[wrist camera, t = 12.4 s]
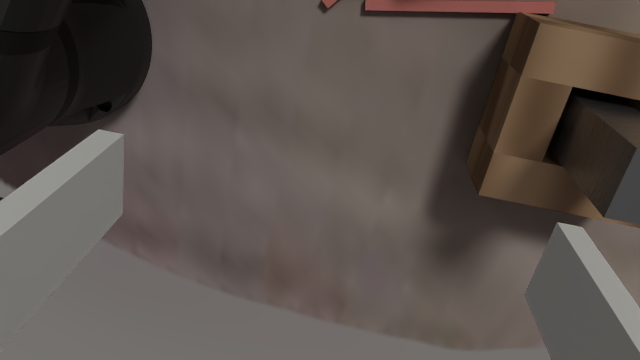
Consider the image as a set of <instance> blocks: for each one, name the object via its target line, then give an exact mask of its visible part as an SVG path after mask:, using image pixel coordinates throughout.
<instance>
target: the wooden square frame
mask: <svg viewBox="0 0 640 360" xmlns="http://www.w3.org/2000/svg"><path fill="white" fill-rule="evenodd" d="M572 87H577V88H582V89H587V90H592V91H597V92H602V93H606V94H611V95H616V96H618V97H619V98H621V99H622V100H624V101H625V102H627V103H628V104H630V105H631V106H633V107H634V108H636V109H637V110H639V111H640V35H636V34H631V33H626V32H621V31H617V30H612V29H607V28H602V27H597V26H592V25H587V24H582V23H577V22H572V21H567V20H562V19H557V18H553V17H548V16H543V15H538V14H533V13H524V12H520V11H519V13H516V16H515V19H514V22H513V25H512V28H511V31H510V34H509V37H508V40H507V43H506V46H505V49H504V52H503V55H502V58H501V61H500V64H499V67H498V70H497V73H496V75H495V78H494V81H493V84H492V87H491V90H490V93H489V96H488V99H487V102H486V105H485V108H484V111H483V114H482V117H481V120H480V123H479V126H478V129H477V132H476V135H475V138H474V141H473V144H472V147H471V150H470V153H469V156H468V158H467V161H466V165H467V168H468V170H469V173H470V175H471V178H472V180H473V183H474V185H475V188H476V190H477V193H478V195H481V196H486V197H491V198H495V199H500V200H505V201H510V202H515V203H520V204H525V205H530V206H535V207H540V208H544V209H549V210H554V211H559V212H564V213H569V214H574V215H579V216H584V217H589V218H593V219H598V220H603V221H608V222H613V223H618V224H623V225H628V226H633V227H638V228H640V225H638V224H633V223H628V222H623V221H618V220H612V219H607V218H604V217H603V216H602V215H601V214H600V213H599V211H598V210H597V209H596V208H595V206H594V205H593V204H592V203H591V201H590V200H589V199H588V198H587V196H586V195H585V194H584V193H583V191H582V190H581V189H580V188H579V187H578V185H577V184H576V183H575V182H574V180H573V179H572V178H571V177H570V175H569V174H568V173H567V172H566V170H565V169H564V168H563V167H562V165H561V164H560V163H559V162H558V161H557V159H556V158H555V157H554V156H553V154H552V153H551V152H550V151H549V149H548V146H549V143H550V141H551V139H552V136H553V134H554V131H555V129H556V126H557V124H558V121H559V119H560V117H561V114H562V112H563V109H564V107H565V104H566V102H567V99H568V97H569V94H570V92H571V90H572Z"/></svg>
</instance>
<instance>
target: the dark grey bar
mask: <svg viewBox="0 0 640 360" xmlns="http://www.w3.org/2000/svg"><path fill="white" fill-rule="evenodd" d="M548 149H549V151H550V152H551V153H552V154H553V156H554V157H555V158H556V159H557V161H558V162H559V163H560V164H561V165H562V167H563V168H564V169H565V170H566V172H567V173H568V174H569V175H570V177H571V178H572V179H573V180H574V182H575V183H576V184H577V185H578V187H579V188H580V189H581V190H582V191H583V193H584V194H585V195H586V196H587V198H588V199H589V200H590V201H591V203H592V204H593V205H594V206H595V208H596V209H597V210H598V211H599V213H600V214H601V215H602V216H603V217H604V218H607V219H612V220H618V221H623V222H628V223H633V224H638V225H640V111H639V110H637V109H636V108H634V107H633V106H631V105H630V104H628V103H627V102H625V101H624V100H622V99H621V98H619V97H618V96H616V95H611V94H606V93H602V92H597V91H592V90H587V89H582V88H577V87H572V90H571V92H570V94H569V97H568V99H567V102H566V104H565V107H564V109H563V112H562V114H561V117H560V119H559V121H558V124H557V126H556V129H555V131H554V134H553V136H552V139H551V141H550V143H549V146H548Z"/></svg>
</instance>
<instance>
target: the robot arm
mask: <svg viewBox="0 0 640 360" xmlns="http://www.w3.org/2000/svg"><path fill="white" fill-rule="evenodd" d="M151 53H152V37H151V29H150V24H149V19H148V16H147V13H146V10H145V7H144V4H143V2H142V0H0V155H2V154H3V153H5V152H7V151H8V150H10V149H11V148H13V147H15V146H16V145H18V144H19V143H21V142H23V141H24V140H26V139H28V138H29V137H31V136H32V135H34V134H36V133H37V132H39V131H41V130H42V129H43V128H45V127H47V126H60V125H77V124H84V123H89V122H93V121H96V120H99V119H101V118H104V117H106V116H108V115H109V114H111V113H113V112H114V111H116V110H117V109H118V108H120V107H121V106H123V105H124V104H125V103H127V102H128V101H129V100H130V99H131V98H132V97H133V96H134V95H135V94H136V93H137V91H138V90H139V88H140V87H141V85H142V84H143V82H144V80H145V77H146V75H147V72H148V69H149V65H150V61H151ZM123 152H124V134H119V133H114V132H109V131H104V130H100V129H98V130H97V131H95V132H94V133H93V134H91V135H90V136H89V137H87V138H86V139H85V140H83V141H82V142H80V143H79V144H78V145H76V146H75V147H74V148H72V149H71V150H69V151H68V152H67V153H65V154H64V155H63V156H61V157H60V158H58V159H57V160H56V161H54V162H53V163H52V164H50V165H49V166H48V167H46V168H45V169H43V170H42V171H41V172H39V173H38V174H37V175H35V176H34V177H32V178H31V179H30V180H28V181H27V182H26V183H24V184H23V185H22V186H20V187H19V188H17V189H16V190H15V191H13V192H12V193H11V194H9V195H8V196H6V197H5V198H0V353H1V352H2V350H3V349H4V348H5V347H6V346H7V345H8V343H10V341H11V340H12V339H13V338H14V337H15V336H16V334H17V333H18V332H19V331H20V330H21V329H22V328H23V327H24V325H25V324H26V323H27V322H28V321H29V320H30V318H31V317H32V316H33V315H34V314H35V313H36V312H37V311H38V309H39V308H40V307H41V306H42V305H43V304H44V303H45V301H46V300H47V299H48V298H49V297H50V296H51V295H52V293H53V292H54V291H55V290H56V289H57V288H58V286H59V285H60V284H61V283H62V282H63V281H64V280H65V279H66V278H67V276H68V275H69V274H70V273H71V272H72V271H73V269H74V268H75V267H76V266H77V265H78V264H79V263H80V262H81V260H82V259H83V258H84V257H85V256H86V255H87V254H88V252H89V251H90V250H91V249H92V248H93V247H94V245H95V244H96V243H97V242H98V241H99V240H100V239H101V238H102V236H103V235H104V234H105V233H106V232H107V231H108V230H109V229H110V227H111V226H112V225H113V224H114V223H115V222H116V221H117V219H118V218H119V217H120V216H121V215H122V214H123ZM525 297H526V300H527V302H528V305H529V307H530V309H531V312H532V314H533V317H534V319H535V321H536V324H537V326H538V328H539V331H540V333H541V336H542V338H543V340H544V343H545V345H546V348H547V350H548V352H549V355H550V357H551V359H552V360H640V308H639V307H638V305H637V304H636V302H635V301H634V300H633V298H632V297H631V295H630V294H629V292H628V291H627V290H626V288H625V287H624V285H623V284H622V283H621V281H620V280H619V278H618V277H617V276H616V274H615V273H614V271H613V270H612V268H611V267H610V266H609V264H608V263H607V261H606V260H605V259H604V257H603V256H602V254H601V253H600V252H599V250H598V249H597V247H596V246H595V244H594V243H593V242H592V240H591V239H590V237H589V236H588V235H587V233H586V232H585V230H584V229H583V228H582V227H579V226H574V225H569V224H564V223H559V222H557V223H556V225H555V228H554V230H553V232H552V234H551V237H550V239H549V241H548V243H547V246H546V248H545V250H544V252H543V254H542V257H541V259H540V261H539V263H538V266H537V268H536V270H535V272H534V275H533V277H532V279H531V281H530V284H529V286H528V288H527V290H526V293H525Z"/></svg>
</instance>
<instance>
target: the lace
mask: <svg viewBox="0 0 640 360" xmlns="http://www.w3.org/2000/svg"><path fill="white" fill-rule="evenodd" d="M322 1H323V3H324V4H325V5H326V6H327V8H329V7H330V6H331V5H332V4H334V3H335V2H336V1H337V0H322ZM554 8H555V2H553V1H498V0H366V1H365V10H382V11H436V12H491V13H519V11H520V12H524V13H545V14H553V13H554Z"/></svg>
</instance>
